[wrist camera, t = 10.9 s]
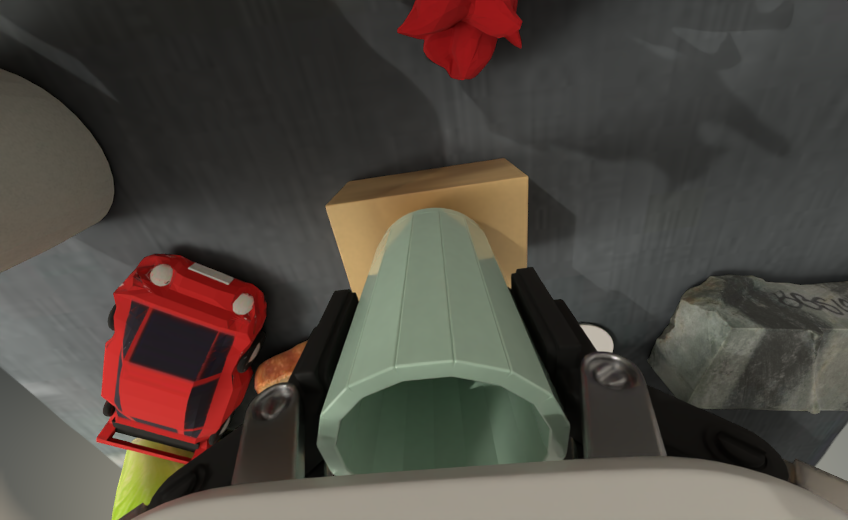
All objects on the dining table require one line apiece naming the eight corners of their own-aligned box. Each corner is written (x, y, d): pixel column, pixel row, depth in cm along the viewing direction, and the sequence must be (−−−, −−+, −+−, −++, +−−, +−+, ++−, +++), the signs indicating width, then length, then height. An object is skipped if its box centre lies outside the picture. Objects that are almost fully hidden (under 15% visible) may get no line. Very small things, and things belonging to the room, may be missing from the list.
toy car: (283, 282, 23) (251, 323, 19) (239, 433, 31) (209, 487, 27) (135, 230, 21) (59, 261, 17) (129, 406, 29) (76, 459, 25)
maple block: (504, 157, 18) (528, 176, 14) (506, 252, 22) (527, 291, 17) (347, 181, 19) (324, 205, 15) (371, 269, 22) (357, 310, 18)
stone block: (680, 273, 22) (746, 317, 18) (880, 268, 22) (1001, 313, 17) (643, 360, 26) (689, 414, 22) (810, 357, 26) (893, 412, 22)
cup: (489, 199, 13) (581, 347, 5) (494, 302, 16) (561, 504, 8) (364, 216, 14) (277, 378, 6) (389, 314, 16) (353, 516, 8)
